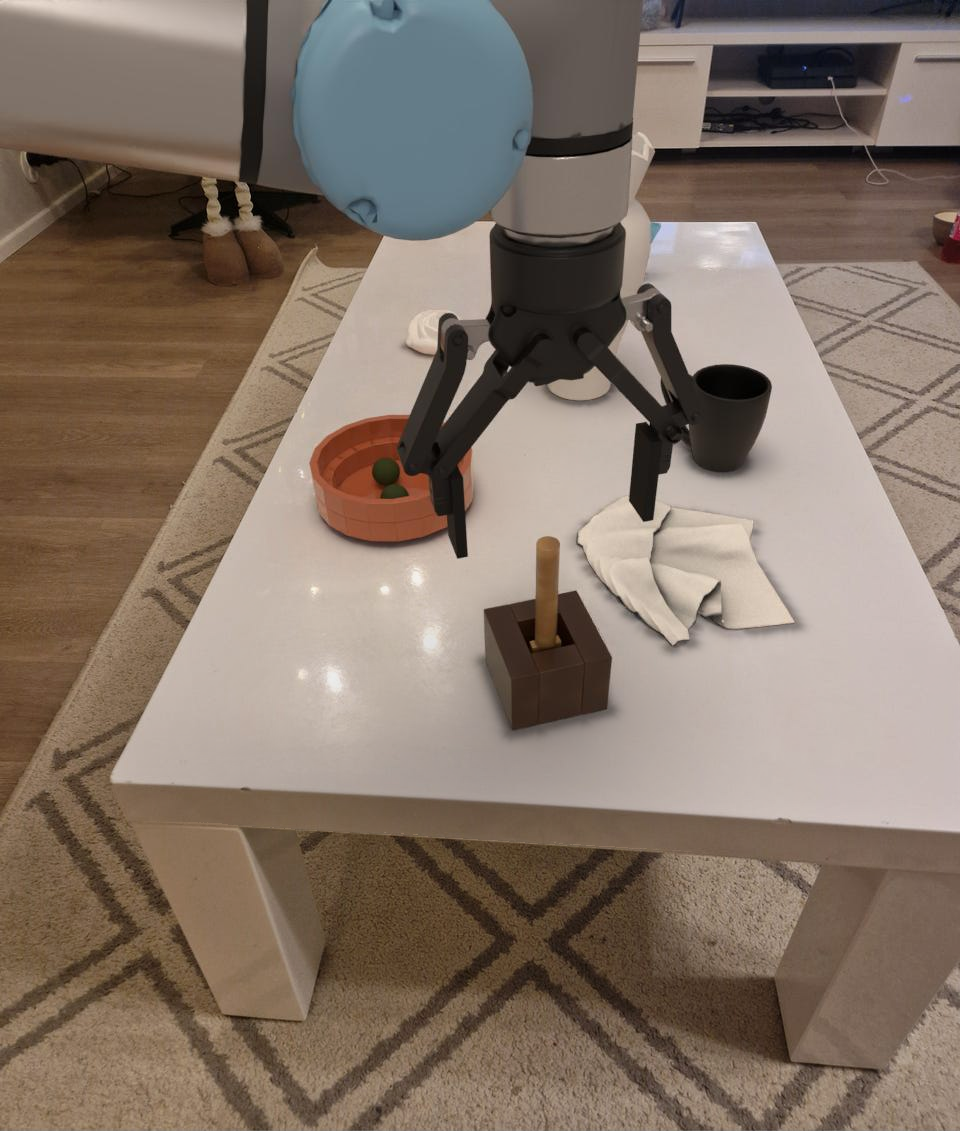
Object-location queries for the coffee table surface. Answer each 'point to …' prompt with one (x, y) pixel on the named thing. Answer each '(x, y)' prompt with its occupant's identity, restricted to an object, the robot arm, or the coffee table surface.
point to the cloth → (681, 568)
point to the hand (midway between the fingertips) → (551, 528)
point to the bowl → (375, 484)
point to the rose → (425, 331)
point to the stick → (546, 595)
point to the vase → (632, 271)
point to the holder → (546, 663)
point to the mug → (726, 414)
